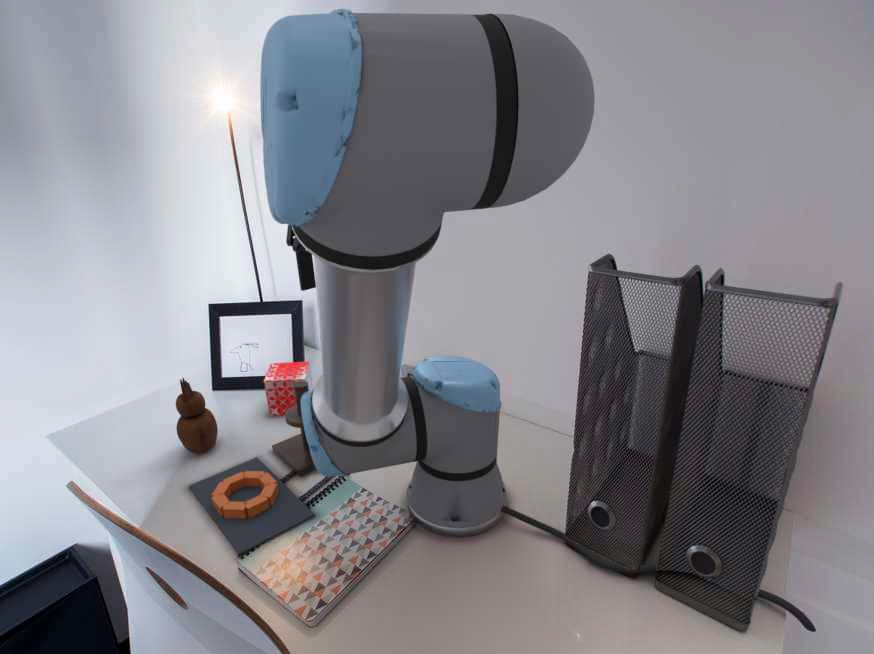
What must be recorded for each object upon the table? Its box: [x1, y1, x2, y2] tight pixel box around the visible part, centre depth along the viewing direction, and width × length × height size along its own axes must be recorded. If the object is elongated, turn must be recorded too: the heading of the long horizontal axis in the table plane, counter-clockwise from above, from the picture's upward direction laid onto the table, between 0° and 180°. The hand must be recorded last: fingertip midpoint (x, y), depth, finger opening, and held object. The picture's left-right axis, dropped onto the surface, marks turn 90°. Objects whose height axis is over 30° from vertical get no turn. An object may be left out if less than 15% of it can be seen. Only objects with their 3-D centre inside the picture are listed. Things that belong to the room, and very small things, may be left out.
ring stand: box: [271, 381, 317, 478], centre depth 91 cm, size 10×10×14 cm
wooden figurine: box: [175, 377, 219, 455], centre depth 93 cm, size 7×6×15 cm
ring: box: [211, 471, 279, 519], centre depth 83 cm, size 9×9×2 cm
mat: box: [188, 457, 316, 556], centre depth 83 cm, size 20×12×1 cm, turn 40°
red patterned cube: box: [263, 361, 314, 417], centre depth 108 cm, size 8×8×8 cm
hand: (330, 297), depth 89 cm, fingers open, 13 cm apart
